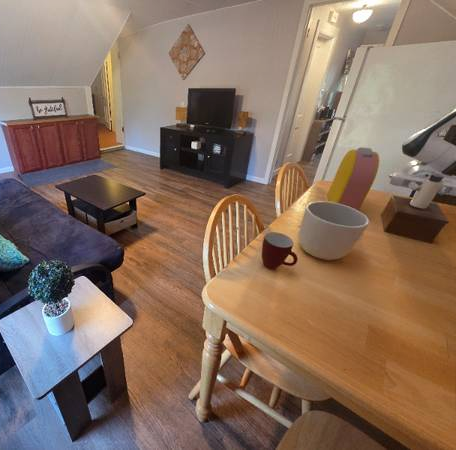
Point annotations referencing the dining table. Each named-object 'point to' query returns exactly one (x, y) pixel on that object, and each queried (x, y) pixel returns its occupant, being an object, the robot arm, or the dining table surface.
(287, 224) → the dining table surface
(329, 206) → the planter
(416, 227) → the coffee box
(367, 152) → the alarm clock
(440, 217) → the box lid
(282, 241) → the mug
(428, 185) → the pepper mill
